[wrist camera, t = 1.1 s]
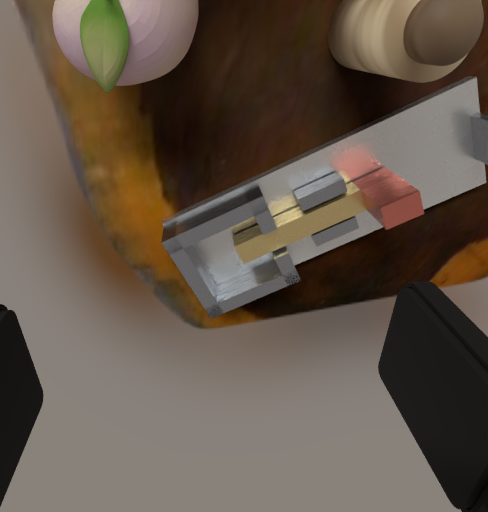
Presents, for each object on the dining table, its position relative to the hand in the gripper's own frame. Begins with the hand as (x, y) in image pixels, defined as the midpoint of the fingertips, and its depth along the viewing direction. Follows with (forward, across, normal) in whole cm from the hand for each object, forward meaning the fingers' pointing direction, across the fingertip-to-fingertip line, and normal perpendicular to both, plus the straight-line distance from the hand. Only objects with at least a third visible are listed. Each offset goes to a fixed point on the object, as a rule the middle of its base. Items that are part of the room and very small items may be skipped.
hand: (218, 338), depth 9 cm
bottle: (+24, -12, -7) cm, 28 cm away
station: (+24, -11, +6) cm, 27 cm away
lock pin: (+23, -10, +7) cm, 26 cm away
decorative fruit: (+24, +4, -9) cm, 26 cm away
